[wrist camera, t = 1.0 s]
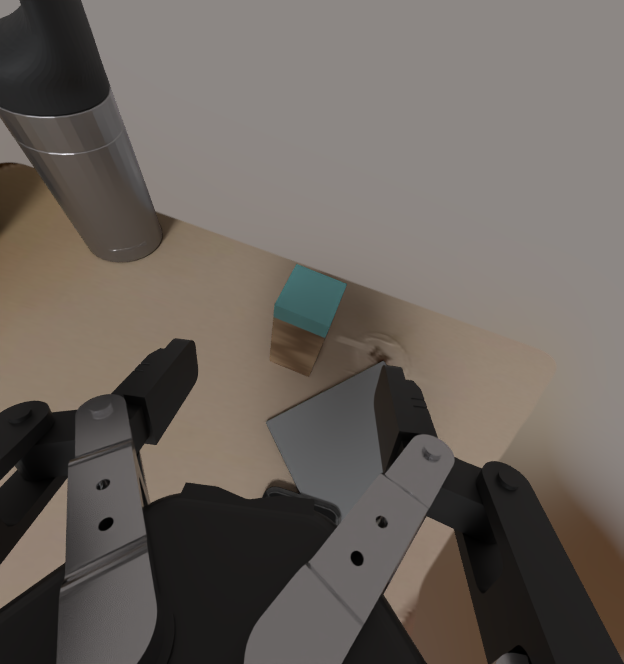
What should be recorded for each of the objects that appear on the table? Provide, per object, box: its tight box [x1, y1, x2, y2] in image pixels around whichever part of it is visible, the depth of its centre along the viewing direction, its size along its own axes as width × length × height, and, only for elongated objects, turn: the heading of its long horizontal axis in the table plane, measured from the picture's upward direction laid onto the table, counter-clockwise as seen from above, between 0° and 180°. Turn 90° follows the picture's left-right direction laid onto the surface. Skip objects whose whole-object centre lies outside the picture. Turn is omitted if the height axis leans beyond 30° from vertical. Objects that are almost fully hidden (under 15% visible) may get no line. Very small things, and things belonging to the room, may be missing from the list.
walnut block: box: [270, 264, 347, 377], centre depth 32 cm, size 5×5×12 cm
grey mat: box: [266, 361, 386, 522], centre depth 33 cm, size 14×16×1 cm
